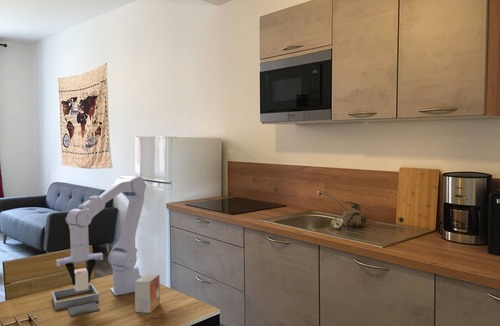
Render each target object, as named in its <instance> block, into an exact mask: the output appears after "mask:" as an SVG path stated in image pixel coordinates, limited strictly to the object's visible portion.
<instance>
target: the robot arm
mask: <svg viewBox="0 0 500 326" xmlns="http://www.w3.org/2000/svg"><path fill="white" fill-rule="evenodd" d="M114 181H115V182H114V183H112V185H110V186H109V187H108V188H106V190H104V191H103V192H102V193H101V194H99V195H92V196H89V197H88V200H86V201H85V202H84V203H82V204H79V205H78V207H77V208H72V209H70V210H69V211H68V212H67V215H66V217H65V222H66V224H67V225H68V229H69V237H70V238H69V241H70V244H69V245H70V256H67V257H64V258H63V257H62V258H59V259H58V258H57V259H56V267H62V266H65V267H66V270H67V271H68V273H69V276H70V279H71V282H72V283H71V284H72V286H74V285H75V270H76V269H75V268H76V267H75V265H74V264H78V263H85V265H86V266H85V268H86V270H87V271H88V284H89V283H90V282H91V276H92V273H93V271H94V269H95V266H96V264H97V263H96V261H98V260H99V261H101V260H104V254H103V252H98V253H97V252H96V253H90V245H89V243H90V241H89V225H90V224H91V222H92V220H93V218H94V217H95V216H96V215H98V214H99V213H100V212H101V211H102V210H104V209H105V207H106V204H107V203H108V202H109V201H110V200H112V199H114V198H116V197H117V196H118V195H119V194H122V195H123V196H124V197H125V198H126V199H127V201H128V204H127V209H126V213H125V216H124V221H123V223H122V228H121V232H120V236H119V240H118V241H117V242H116V243H114V244H113V246H112V249H111V251H110V252H109V253H108V256H107V261H108V264H109V265H111V268H112V283H113V287H111V288H110V291H111V292H112V293H113V294H114V296H121V295H126V294H130V293H135V281H137V280H138V279H139V278H141V277H140V270H139V267H138V265H136V263H137V259H138V258H137V257H138V256H137V252H138V249H137V247H136V246H135V244H134V243H135V239H136V238H135V237H136V233H137V230H138V226H139V222H140V219H141V213H142V210H143V206H144V202H145V192H146V189H147V184H146V182H145V179H144V178H143V177H141V176H130V175H129V176H127V175H121V176H119V178H117V179H115V180H114Z"/></svg>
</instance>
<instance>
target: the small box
mask: <svg viewBox="0 0 500 326" xmlns="http://www.w3.org/2000/svg"><path fill="white" fill-rule="evenodd" d="M160 285H161V284H160V275H159V274H152V273H150V274H149V273H145V274H143V275H142V276H141V277H140V278H139V279H138V280H137V281H135V292H134V306H135V313H146V314H147V313H148V314H149V313H150V314H151V313H152V312H153V311H154V310H155V309H156V308H157V307H158V306H159V305H160V304H161V293H160V291H161V290H160V288H161V286H160Z"/></svg>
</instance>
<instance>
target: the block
mask: <svg viewBox="0 0 500 326" xmlns="http://www.w3.org/2000/svg"><path fill="white" fill-rule="evenodd" d="M88 285H89V283H88V271H87V269H86V267H85V268H78V269H75V285H73V288H74V289H75V291H76V292H77V291H82V290H87V289H89V287H88Z"/></svg>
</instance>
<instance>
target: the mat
mask: <svg viewBox="0 0 500 326" xmlns="http://www.w3.org/2000/svg"><path fill="white" fill-rule="evenodd" d="M96 302H97V301H94V302H89V303H84V304H80V305H75V306H70V307H67V308H66V309H67V311H68V313H69V316H70V317H71V318H72V317H77V316H81V315H86V314H90V313H91V314H92V313H95V312H99V311H100V307H99V306H98V304H97V303H96Z"/></svg>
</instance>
